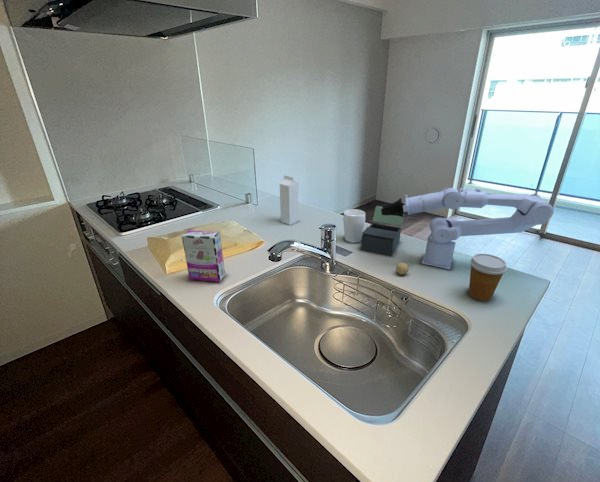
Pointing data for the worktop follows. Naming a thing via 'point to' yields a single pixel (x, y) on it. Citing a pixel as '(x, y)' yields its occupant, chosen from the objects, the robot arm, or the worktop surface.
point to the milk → (289, 200)
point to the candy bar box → (204, 255)
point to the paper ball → (402, 268)
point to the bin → (380, 239)
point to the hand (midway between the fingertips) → (382, 210)
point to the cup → (353, 225)
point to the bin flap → (386, 217)
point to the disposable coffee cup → (485, 275)
